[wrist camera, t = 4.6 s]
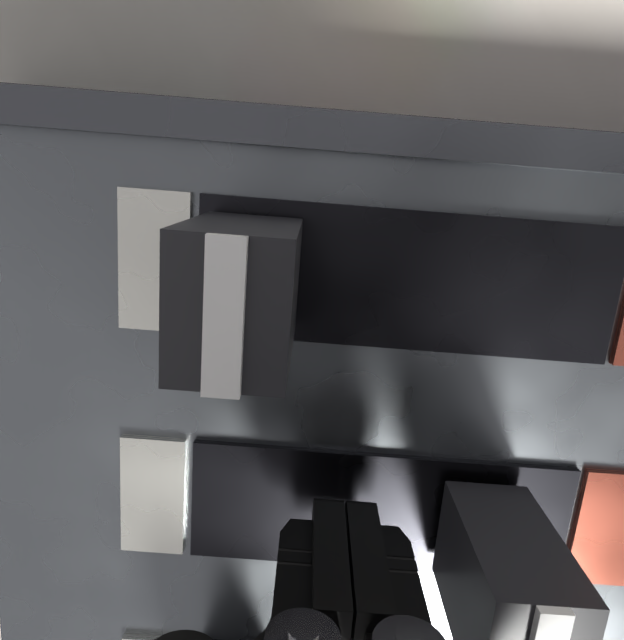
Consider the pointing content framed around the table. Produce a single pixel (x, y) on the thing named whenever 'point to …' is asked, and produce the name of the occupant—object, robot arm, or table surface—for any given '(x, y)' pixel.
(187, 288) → the breaker
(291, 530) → the robot arm
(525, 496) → the breaker
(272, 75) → the table surface
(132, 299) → the panel
